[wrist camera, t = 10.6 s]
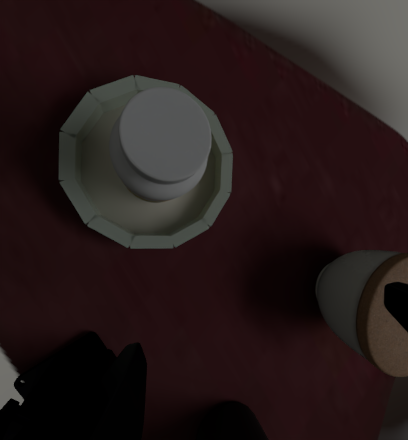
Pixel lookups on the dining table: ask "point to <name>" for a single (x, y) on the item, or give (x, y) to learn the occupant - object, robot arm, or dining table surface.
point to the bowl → (114, 187)
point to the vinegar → (231, 424)
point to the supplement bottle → (160, 144)
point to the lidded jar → (365, 306)
